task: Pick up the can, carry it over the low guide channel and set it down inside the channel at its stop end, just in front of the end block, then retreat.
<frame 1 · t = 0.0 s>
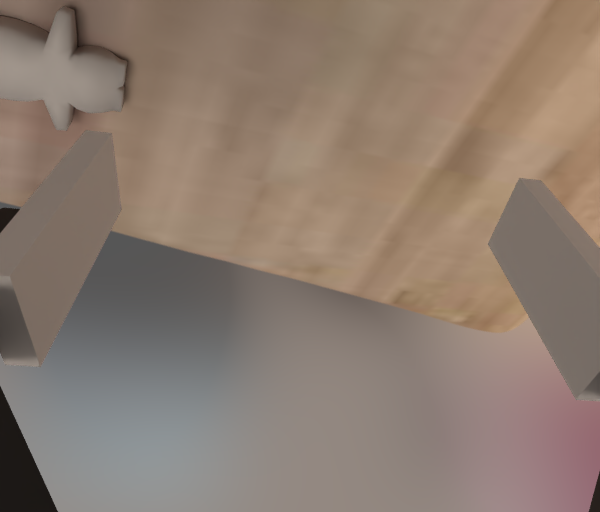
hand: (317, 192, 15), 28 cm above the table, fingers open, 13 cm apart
grey lumpy figure: (38, 52, 39), on the table
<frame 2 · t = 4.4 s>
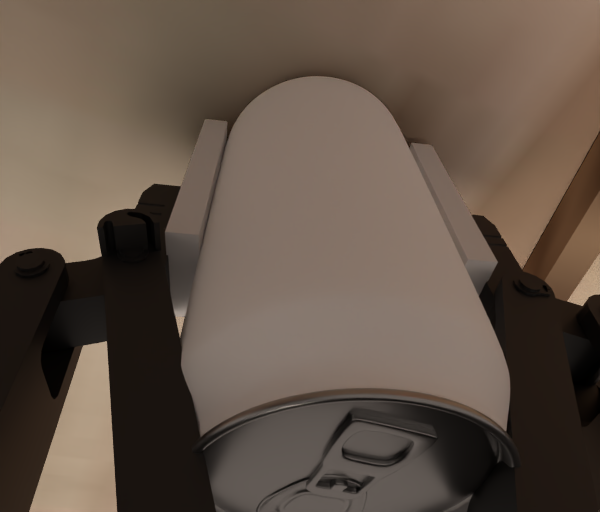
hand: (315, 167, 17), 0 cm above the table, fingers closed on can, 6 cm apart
can: (313, 158, 17), on the table, touching gripper
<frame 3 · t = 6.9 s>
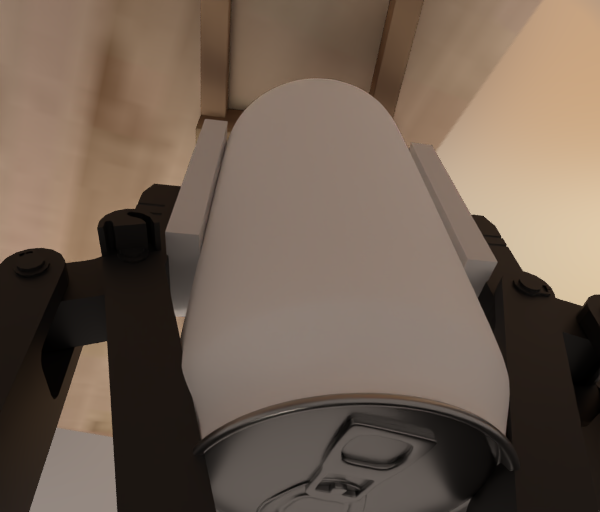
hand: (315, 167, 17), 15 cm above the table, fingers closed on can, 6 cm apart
can: (313, 160, 17), point 14 cm above the table, touching gripper
when the fingers open (3 cm above the table, at t = 9.4 s): can drops 2 cm, resting in guide.
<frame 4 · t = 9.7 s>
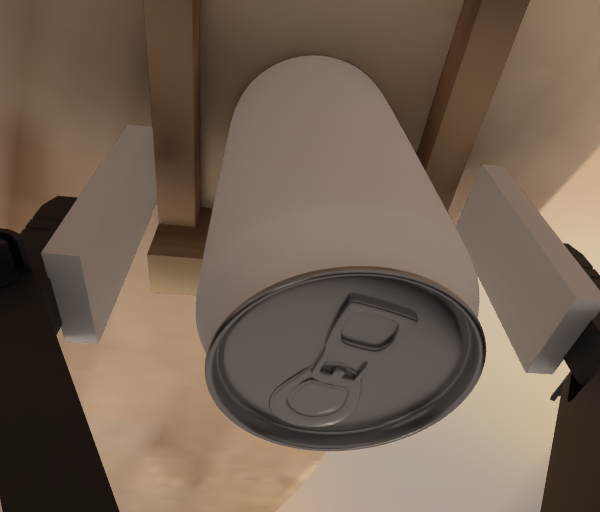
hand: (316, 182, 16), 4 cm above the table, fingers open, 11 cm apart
can: (310, 133, 19), resting in guide
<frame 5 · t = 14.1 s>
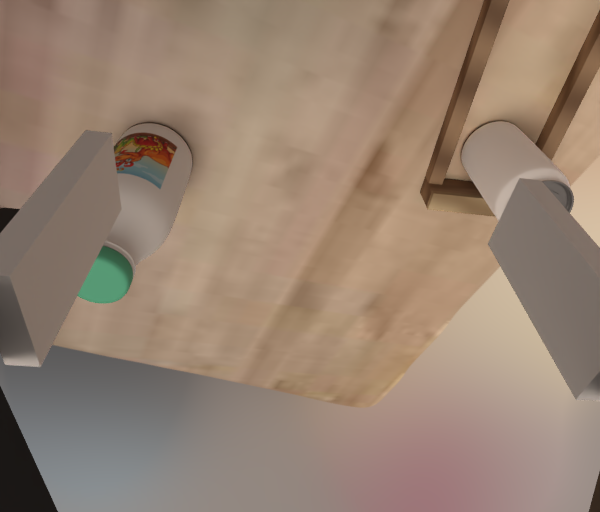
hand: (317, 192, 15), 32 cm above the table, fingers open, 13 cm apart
milk bottle: (156, 155, 49), on the table
guide: (519, 82, 45), on the table
can: (490, 148, 49), resting in guide
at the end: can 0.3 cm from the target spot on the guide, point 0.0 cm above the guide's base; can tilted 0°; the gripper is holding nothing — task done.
